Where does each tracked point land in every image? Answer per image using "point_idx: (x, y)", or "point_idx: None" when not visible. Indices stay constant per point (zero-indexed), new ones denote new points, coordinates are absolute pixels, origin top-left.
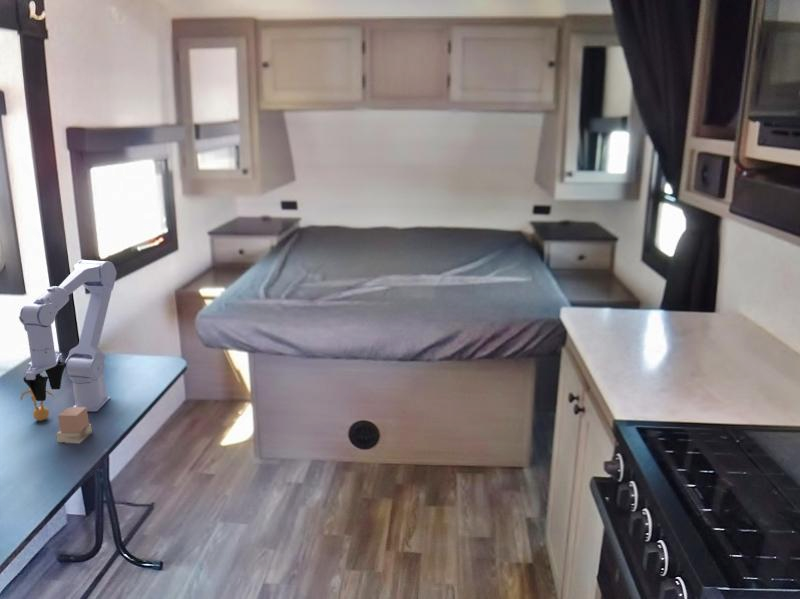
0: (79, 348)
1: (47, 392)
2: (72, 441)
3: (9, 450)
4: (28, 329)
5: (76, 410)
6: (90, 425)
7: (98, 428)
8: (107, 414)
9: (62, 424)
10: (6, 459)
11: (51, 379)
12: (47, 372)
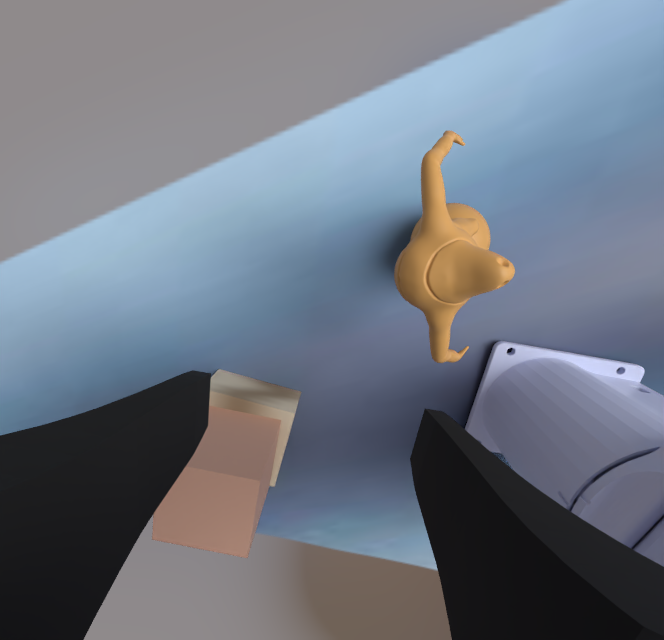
0: None
1: (434, 356)
2: None
3: (156, 204)
4: None
5: (214, 525)
6: (271, 482)
7: (312, 471)
8: None
9: None
10: (86, 223)
11: (459, 486)
12: (520, 545)
